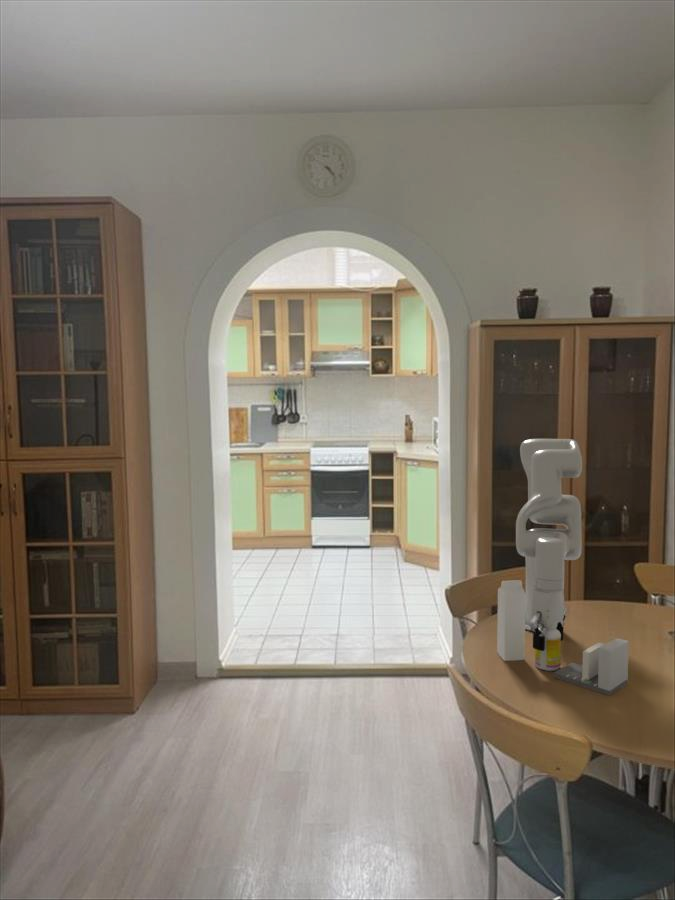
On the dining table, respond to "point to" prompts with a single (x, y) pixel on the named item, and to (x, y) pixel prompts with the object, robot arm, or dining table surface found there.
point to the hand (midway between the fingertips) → (548, 644)
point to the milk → (511, 621)
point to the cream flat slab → (591, 661)
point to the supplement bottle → (550, 650)
